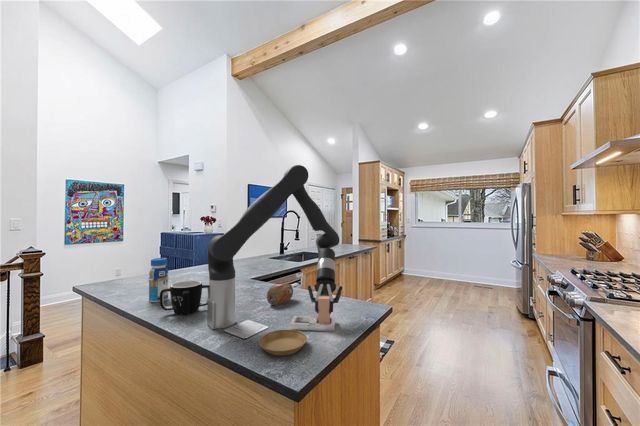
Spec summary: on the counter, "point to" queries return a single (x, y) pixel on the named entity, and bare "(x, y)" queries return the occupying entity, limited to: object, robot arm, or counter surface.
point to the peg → (323, 309)
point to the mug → (184, 297)
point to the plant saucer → (283, 342)
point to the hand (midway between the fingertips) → (323, 312)
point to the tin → (279, 294)
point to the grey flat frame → (311, 323)
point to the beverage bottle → (158, 279)
